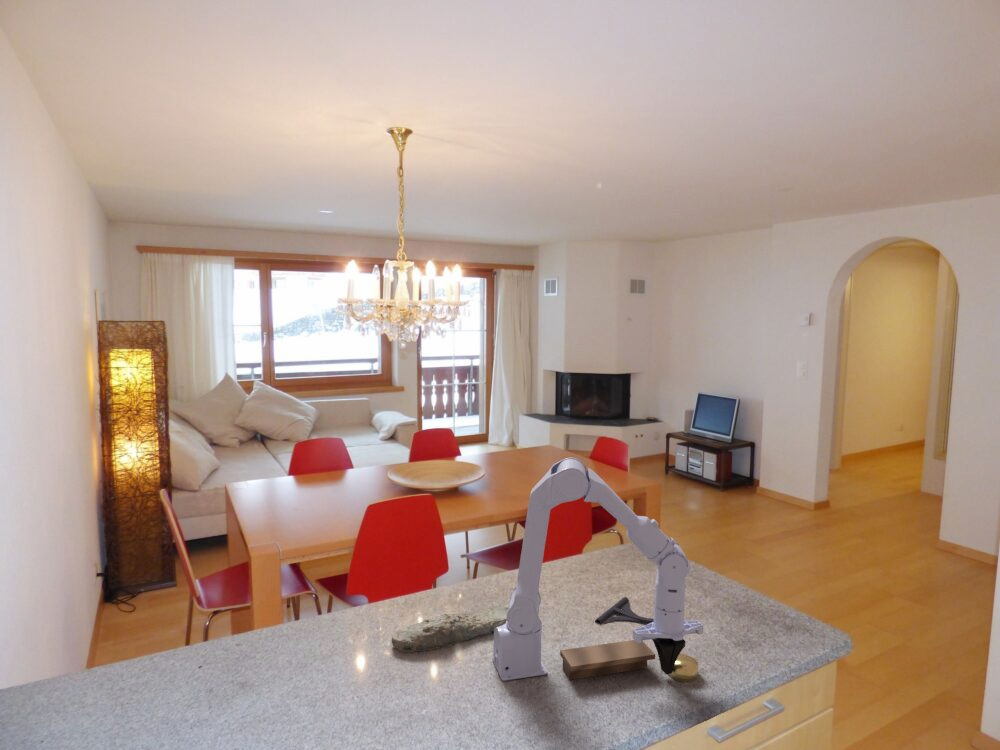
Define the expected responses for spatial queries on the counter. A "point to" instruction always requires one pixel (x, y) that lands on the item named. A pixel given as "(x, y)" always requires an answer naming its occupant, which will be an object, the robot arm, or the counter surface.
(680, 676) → the brass puck
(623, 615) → the bracket
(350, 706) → the counter surface
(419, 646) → the elongated rock
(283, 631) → the counter surface
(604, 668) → the walnut shelf
